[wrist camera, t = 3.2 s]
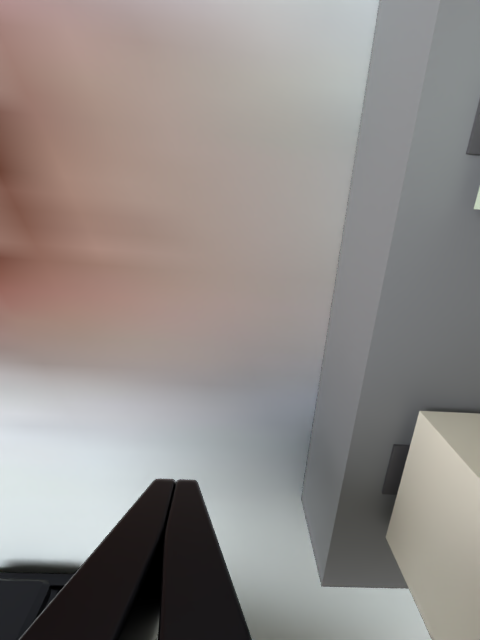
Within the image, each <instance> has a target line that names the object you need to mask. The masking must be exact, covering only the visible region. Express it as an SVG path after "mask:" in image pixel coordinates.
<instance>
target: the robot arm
mask: <svg viewBox="0 0 480 640" xmlns="http://www.w3.org/2000/svg"><path fill="white" fill-rule="evenodd" d="M158 630H159V632H158ZM157 635H158V640H252V638H251V635H250V632H249V630H248V627H247V624H246V621H245V618H244V615H243V612H242V609H241V606H240V603H239V601H238V598H237V595H236V592H235V589H234V586H233V583H232V580H231V577H230V575H229V572H228V569H227V566H226V563H225V560H224V557H223V554H222V551H221V549H220V546H219V543H218V540H217V537H216V534H215V531H214V528H213V525H212V522H211V520H210V517H209V514H208V511H207V508H206V505H205V502H204V499H203V496H202V494H201V491H200V488H199V485H198V483H197V481H196V480H185V479H179V480H177V482H176V481H175V480H174V479H156V480H154V481H153V482H152V483H151V485H150V486H149V487H148V488H147V489H146V490H145V492H144V493H143V494H142V495H141V496H140V498H139V499H138V500H137V501H136V502H135V503H134V505H133V506H132V507H131V508H130V509H129V510H128V512H127V513H126V514H125V515H124V516H123V518H122V519H121V520H120V521H119V522H118V523H117V525H116V526H115V527H114V528H113V529H112V530H111V532H110V533H109V534H108V535H107V536H106V537H105V539H104V540H103V541H102V542H101V543H100V545H99V546H98V547H97V548H96V549H95V550H94V552H93V553H92V554H91V555H90V556H89V557H88V559H87V560H86V561H85V562H84V563H83V565H82V566H81V567H80V568H79V569H78V570H77V572H76V573H75V574H38V573H0V640H156V639H157Z"/></svg>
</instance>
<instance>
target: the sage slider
mask: <svg viewBox="0 0 480 640" xmlns="http://www.w3.org/2000/svg"><path fill="white" fill-rule="evenodd" d="M474 209H478V210H480V187H479V191H478V194H477V198H476V202H475V206H474Z"/></svg>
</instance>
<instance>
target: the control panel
mask: <svg viewBox="0 0 480 640" xmlns="http://www.w3.org/2000/svg"><path fill="white" fill-rule="evenodd" d="M479 187H480V0H380V2H379V8H378V14H377V21H376V27H375V33H374V40H373V46H372V52H371V59H370V65H369V71H368V78H367V84H366V90H365V97H364V103H363V109H362V116H361V122H360V128H359V135H358V141H357V147H356V154H355V160H354V166H353V173H352V179H351V185H350V192H349V198H348V204H347V211H346V217H345V223H344V230H343V236H342V242H341V249H340V255H339V261H338V268H337V274H336V280H335V287H334V293H333V299H332V306H331V312H330V318H329V325H328V331H327V338H326V344H325V350H324V357H323V363H322V369H321V376H320V382H319V388H318V395H317V401H316V407H315V414H314V420H313V426H312V433H311V439H310V445H309V452H308V458H307V464H306V471H305V477H304V483H303V490H302V496H301V500H302V504H303V508H304V513H305V517H306V521H307V526H308V530H309V534H310V539H311V543H312V547H313V552H314V556H315V560H316V564H317V569H318V573H319V577H320V582H321V586H323V587H366V588H408V586H407V583H406V581H405V579H404V577H403V575H402V572H401V570H400V568H399V566H398V563H397V561H396V559H395V557H394V555H393V552H392V550H391V548H390V546H389V544H388V541H387V539H386V534H387V530H388V526H389V523H390V519H391V515H392V512H393V508H394V504H395V500H396V497H397V493H398V489H399V485H400V482H401V478H402V474H403V471H404V467H405V463H406V459H407V456H408V452H409V448H410V444H411V441H412V437H413V433H414V429H415V426H416V422H417V418H418V415H419V411H436V412H457V413H479V414H480V210H478V209H474V206H475V202H476V198H477V194H478V191H479ZM408 589H409V588H408Z"/></svg>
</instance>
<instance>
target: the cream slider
mask: <svg viewBox="0 0 480 640" xmlns="http://www.w3.org/2000/svg"><path fill="white" fill-rule="evenodd" d="M386 539H387V541H388V544H389V546H390V548H391V550H392V552H393V555H394V557H395V559H396V561H397V563H398V566H399V568H400V570H401V572H402V575H403V577H404V579H405V581H406V583H407V586H408V588H409V590H410V592H411V594H412V597H413V599H414V601H415V603H416V605H417V608H418V610H419V612H420V614H421V616H422V619H423V621H424V623H425V625H426V627H427V630H428V632H429V634H430V636H431V638H432V640H480V414H479V413H457V412H436V411H419V415H418V418H417V422H416V426H415V429H414V433H413V437H412V441H411V444H410V448H409V452H408V456H407V459H406V463H405V467H404V471H403V474H402V478H401V482H400V485H399V489H398V493H397V497H396V500H395V504H394V508H393V512H392V515H391V519H390V523H389V526H388V530H387V534H386Z"/></svg>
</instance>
